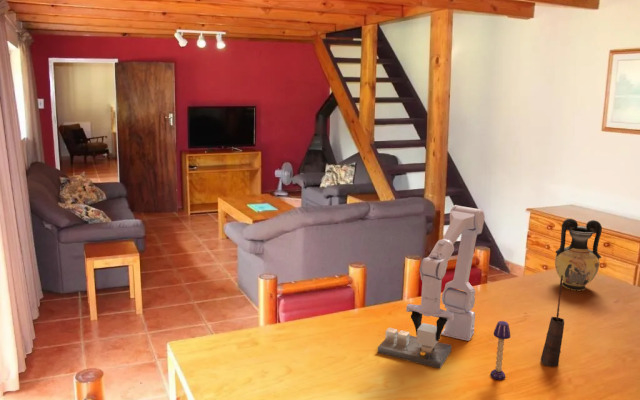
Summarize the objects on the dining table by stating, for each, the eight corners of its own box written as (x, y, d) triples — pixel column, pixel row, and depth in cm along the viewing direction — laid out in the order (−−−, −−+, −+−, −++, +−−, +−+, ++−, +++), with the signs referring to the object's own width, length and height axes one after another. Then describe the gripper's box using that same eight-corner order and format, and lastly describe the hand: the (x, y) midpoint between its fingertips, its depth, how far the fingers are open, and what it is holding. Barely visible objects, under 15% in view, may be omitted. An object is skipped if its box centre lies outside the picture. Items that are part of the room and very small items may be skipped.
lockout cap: (439, 340, 173) (440, 326, 172) (434, 347, 168) (435, 333, 167) (421, 335, 176) (422, 322, 175) (416, 342, 171) (417, 329, 170)
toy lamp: (487, 371, 164) (492, 319, 160) (502, 371, 164) (507, 319, 161) (493, 380, 159) (498, 326, 155) (509, 380, 159) (514, 326, 156)
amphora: (556, 292, 229) (565, 222, 223) (547, 278, 245) (554, 213, 239) (602, 296, 226) (611, 225, 220) (589, 282, 242) (598, 215, 236)
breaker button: (433, 353, 174) (433, 345, 173) (430, 357, 171) (430, 348, 170) (423, 351, 175) (424, 342, 174) (420, 355, 172) (421, 346, 172)
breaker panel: (451, 350, 176) (452, 335, 175) (440, 368, 165) (441, 351, 164) (392, 336, 185) (392, 321, 184) (377, 352, 174) (378, 336, 173)
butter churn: (565, 375, 162) (576, 286, 157) (531, 366, 167) (541, 279, 162) (569, 363, 170) (580, 277, 164) (537, 354, 175) (546, 270, 169)
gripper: (404, 295, 169) (401, 336, 172) (451, 305, 162) (447, 347, 165) (411, 288, 175) (409, 328, 178) (457, 297, 168) (453, 338, 171)
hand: (428, 337), depth 172 cm, fingers closed on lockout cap, 6 cm apart
